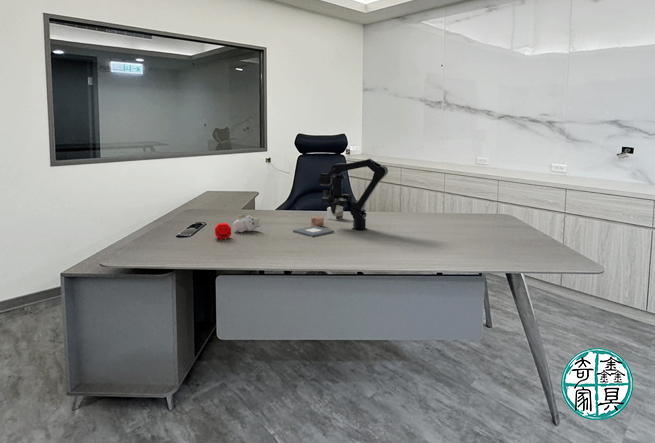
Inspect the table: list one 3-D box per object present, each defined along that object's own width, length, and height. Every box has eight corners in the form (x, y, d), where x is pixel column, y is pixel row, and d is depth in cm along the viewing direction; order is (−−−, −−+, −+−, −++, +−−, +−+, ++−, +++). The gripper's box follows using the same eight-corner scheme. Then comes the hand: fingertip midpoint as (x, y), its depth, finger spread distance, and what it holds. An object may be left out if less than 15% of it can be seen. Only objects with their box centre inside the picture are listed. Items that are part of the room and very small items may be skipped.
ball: (215, 240, 252) (215, 225, 250) (214, 236, 259) (214, 222, 258) (231, 239, 254) (231, 225, 252) (230, 236, 261) (230, 221, 260)
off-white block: (343, 215, 282) (343, 206, 281) (336, 216, 279) (336, 207, 278) (336, 213, 286) (337, 205, 285) (330, 215, 282) (330, 206, 281)
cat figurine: (230, 215, 269) (258, 211, 270) (232, 219, 276) (259, 216, 278) (232, 231, 266) (260, 227, 267) (234, 236, 273) (261, 232, 275)
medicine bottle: (336, 220, 302) (336, 201, 300) (326, 218, 306) (327, 199, 304) (343, 218, 308) (343, 199, 305) (333, 217, 312) (333, 198, 309)
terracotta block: (323, 226, 287) (323, 217, 285) (317, 227, 283) (317, 218, 282) (317, 224, 290) (317, 216, 289) (311, 226, 287) (311, 217, 286)
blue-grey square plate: (334, 232, 271) (334, 230, 271) (312, 237, 260) (312, 234, 260) (314, 227, 282) (314, 225, 282) (292, 231, 272) (292, 229, 271)
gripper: (338, 183, 291) (338, 209, 294) (315, 185, 278) (315, 213, 281) (352, 185, 283) (352, 212, 286) (329, 188, 270) (328, 216, 273)
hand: (336, 213), depth 282 cm, fingers closed on off-white block, 5 cm apart
